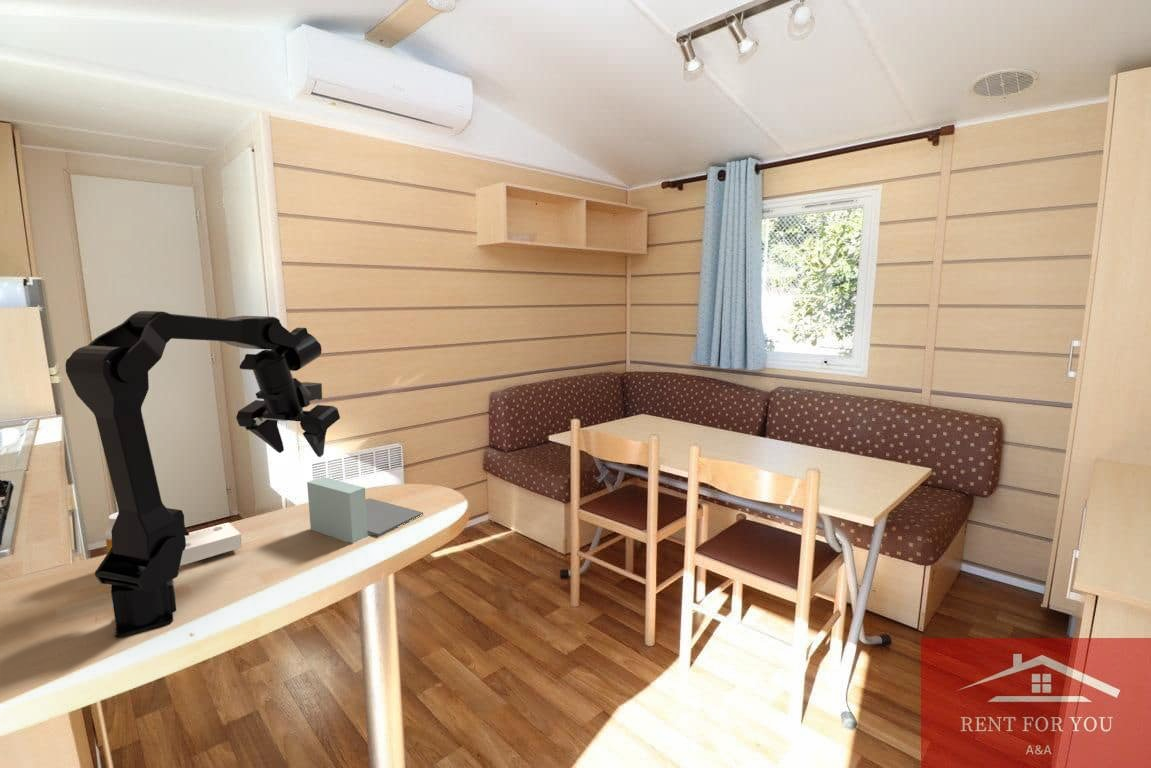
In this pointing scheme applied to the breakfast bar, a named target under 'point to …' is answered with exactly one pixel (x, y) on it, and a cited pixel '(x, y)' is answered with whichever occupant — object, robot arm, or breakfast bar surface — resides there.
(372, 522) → the mat
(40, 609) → the breakfast bar surface
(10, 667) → the breakfast bar surface
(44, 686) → the breakfast bar surface
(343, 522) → the grey-green slab
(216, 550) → the white box
